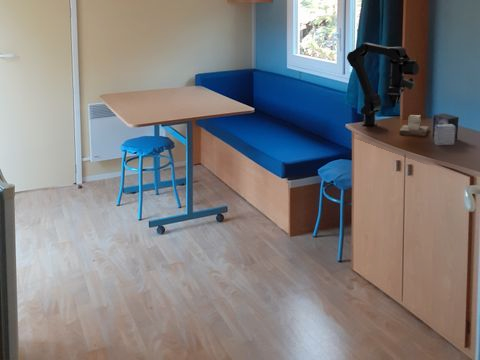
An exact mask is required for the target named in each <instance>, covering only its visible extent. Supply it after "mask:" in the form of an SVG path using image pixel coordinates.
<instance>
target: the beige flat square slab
mask: <svg viewBox="0 0 480 360" xmlns="http://www.w3.org/2000/svg"><path fill="white" fill-rule="evenodd" d="M428 132H429V126H428V125H420V128H419V130H414V129H408V124H403V125H402V126H401V127H400V129H399V131H398V133H399V135H403V136H420V137H421V136H422V137H425V136H426V135H427V133H428Z"/></svg>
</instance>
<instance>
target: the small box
mask: <svg viewBox="0 0 480 360" xmlns="http://www.w3.org/2000/svg"><path fill="white" fill-rule="evenodd" d="M459 119H460V118H459V116H456V115H451V114H448V113H437V114H433V120H432V121H433V123H432V124H433V125H432V137H434V135H435V125H442V124H452V125H454V126H455V140H458V132H459V131H458V130H459Z"/></svg>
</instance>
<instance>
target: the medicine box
mask: <svg viewBox="0 0 480 360" xmlns="http://www.w3.org/2000/svg"><path fill="white" fill-rule="evenodd" d="M433 137H434V139H433V143H434V144H435V145H436V146H450V145H451V146H452V145H453V146H454V145H455V140H456V139H455V126H454V125H452V124H442V125H435V135H434V136H433Z"/></svg>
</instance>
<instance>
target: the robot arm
mask: <svg viewBox="0 0 480 360" xmlns="http://www.w3.org/2000/svg"><path fill="white" fill-rule="evenodd" d="M368 53H372V54H373V53H374V54H376V55H377V54H378V55H383V56H386V57H387V59H390V60H389V61H388V62H387V64H388V65H390V66H391V67H390V75H389V77H390V84H389V87H388V88H387V89H386V94H387V96H388V99H389V101H390V102H391V105H392V107H393V108H396V105H397V104H399V102H400V99H401V97H402V93H403V92H404V91H406V88H407V89H409V90H413V88H414V86H415V84H416V82H415V80H414V78H413V77H410V78H405V75H408V76H410V75H411V76H417V75H418V74H419V72H420V66H419V63H418V60H415V59H414V60H411V59H410V57H409V55H408V54H407V50H406V48H405V47H404V46H385V45H380V44H376V43H370V42H363V43H362V44H360V45H359V46H358V47H357V48H355V49H354V50H353V51H349V52H348V53H347V56H346V60H347V61H348V64H349V66H351V68H352V69H353V70H354V71H355V74H356V76H357V79H358V82H359V84H360V87H361V90H362V92H363V95H364V99H363V103H364V104H363V105H364V106H362V108H360V109H359V110H360V114H362V115H363V123H362V124H361V126H367V127H375V126H376V125H377V124H378V122H376V113H379V111H380V109H381V108H382V106H383V105H382V102H383V100H382V99H381V95H380V94H379V93H377V94H376V93H375V92H374V89H373V87H372V84H371V81H370V79H369V76H368V73H367V70H366V68H365V61H366V59H365V57H366V56H367V54H368Z"/></svg>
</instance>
